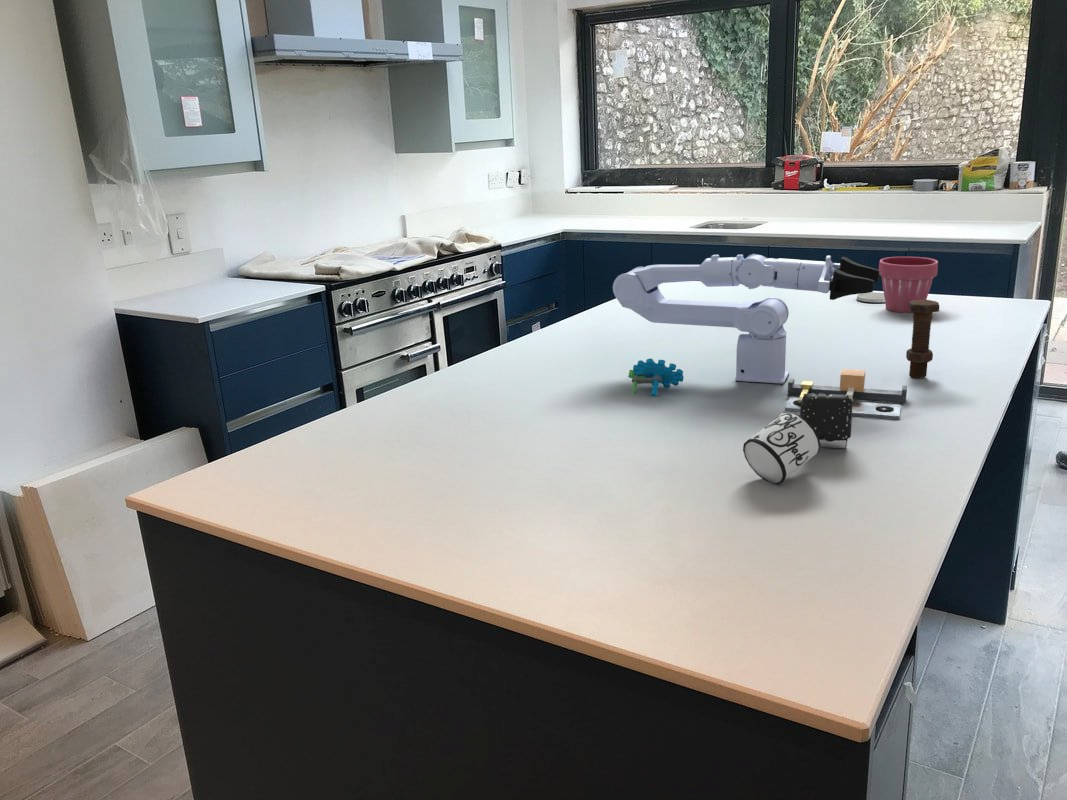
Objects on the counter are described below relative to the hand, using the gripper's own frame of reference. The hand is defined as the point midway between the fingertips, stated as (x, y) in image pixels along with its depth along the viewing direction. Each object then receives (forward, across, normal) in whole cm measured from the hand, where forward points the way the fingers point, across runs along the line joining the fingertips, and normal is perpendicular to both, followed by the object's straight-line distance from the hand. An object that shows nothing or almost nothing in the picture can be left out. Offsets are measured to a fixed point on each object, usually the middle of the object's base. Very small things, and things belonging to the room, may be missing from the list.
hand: (876, 281), depth 163 cm
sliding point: (-1, -13, +18) cm, 23 cm away
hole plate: (-2, -17, +19) cm, 26 cm away
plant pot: (+1, +72, +26) cm, 76 cm away
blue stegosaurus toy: (-37, -17, +21) cm, 46 cm away
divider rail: (-2, -13, +20) cm, 24 cm away
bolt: (+9, +7, +21) cm, 24 cm away
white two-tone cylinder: (-4, -46, +18) cm, 49 cm away
